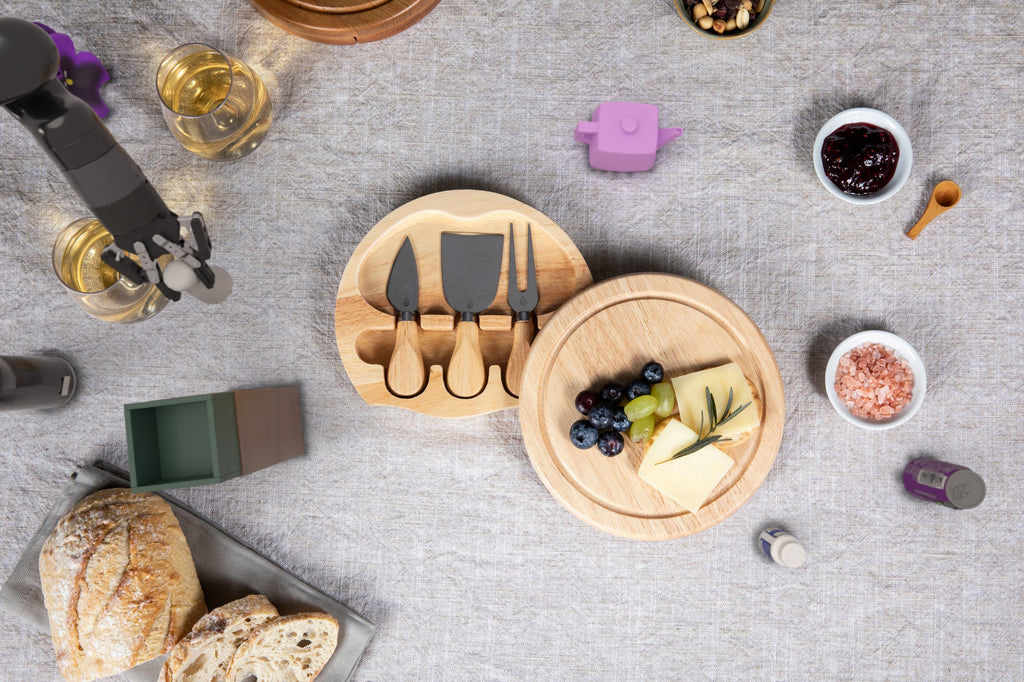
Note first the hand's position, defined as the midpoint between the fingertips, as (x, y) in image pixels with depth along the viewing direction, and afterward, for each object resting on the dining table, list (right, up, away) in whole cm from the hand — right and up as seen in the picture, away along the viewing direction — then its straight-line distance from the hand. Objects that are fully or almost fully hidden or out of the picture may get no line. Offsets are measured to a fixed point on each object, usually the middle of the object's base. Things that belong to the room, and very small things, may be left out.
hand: (194, 291), depth 92 cm
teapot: (+64, +28, +28) cm, 75 cm away
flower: (-36, +38, +30) cm, 60 cm away
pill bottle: (+90, -42, +24) cm, 102 cm away
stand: (0, -22, +26) cm, 34 cm away
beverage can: (+115, -31, +24) cm, 122 cm away
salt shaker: (-1, +1, +9) cm, 9 cm away
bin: (0, -20, 0) cm, 20 cm away
